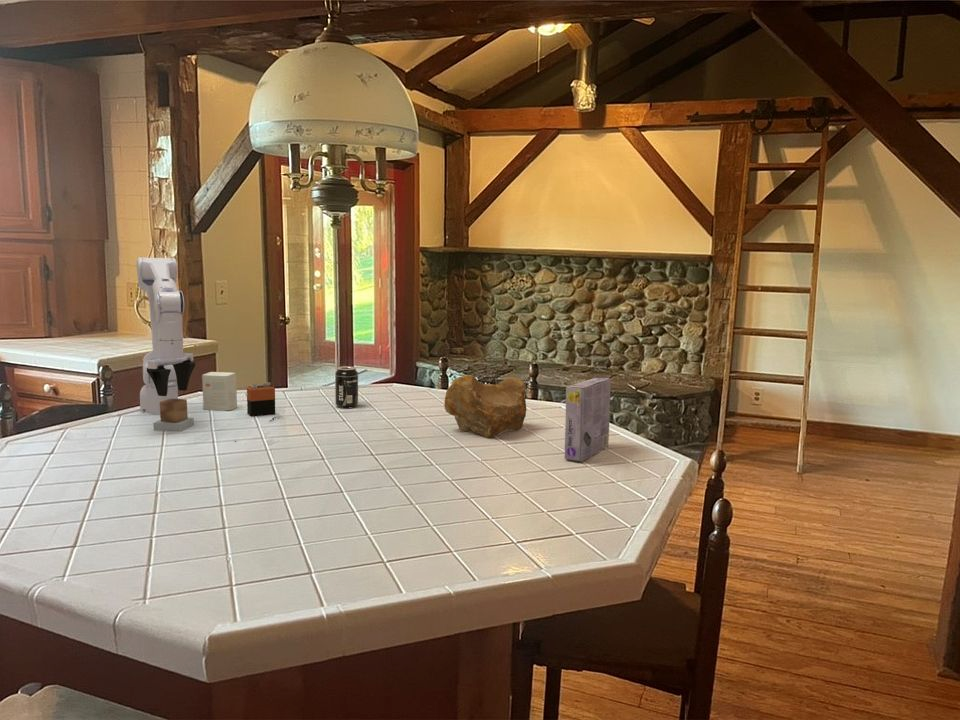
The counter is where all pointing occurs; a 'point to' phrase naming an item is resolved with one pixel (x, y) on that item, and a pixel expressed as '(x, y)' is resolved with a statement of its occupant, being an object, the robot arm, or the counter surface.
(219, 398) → the small box
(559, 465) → the counter surface
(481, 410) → the rough brown rock
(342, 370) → the beverage can
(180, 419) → the walnut block
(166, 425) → the gray slab
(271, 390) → the battery
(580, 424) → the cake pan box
